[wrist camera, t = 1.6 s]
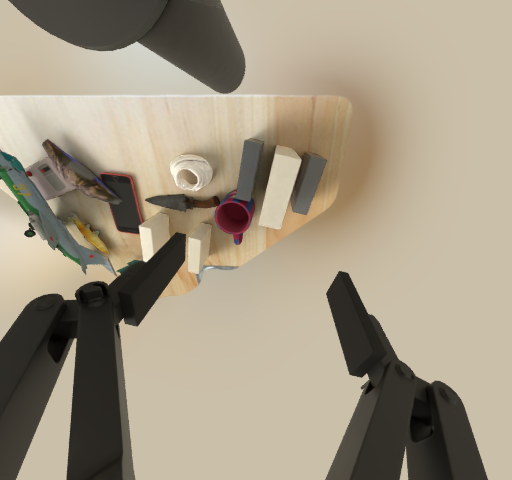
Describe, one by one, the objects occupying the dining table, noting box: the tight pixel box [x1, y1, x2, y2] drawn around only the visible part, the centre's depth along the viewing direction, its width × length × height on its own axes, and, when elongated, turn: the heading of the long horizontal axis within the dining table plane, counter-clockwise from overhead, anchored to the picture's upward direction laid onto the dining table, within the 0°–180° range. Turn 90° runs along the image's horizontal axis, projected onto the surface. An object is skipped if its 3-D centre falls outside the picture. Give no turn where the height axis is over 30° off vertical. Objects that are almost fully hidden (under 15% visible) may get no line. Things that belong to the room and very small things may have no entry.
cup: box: [215, 190, 255, 245], centre depth 38 cm, size 7×10×7 cm
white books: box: [139, 213, 212, 274], centre depth 42 cm, size 12×9×7 cm
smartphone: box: [100, 173, 143, 234], centre depth 42 cm, size 7×1×14 cm
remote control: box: [24, 157, 77, 200], centre depth 40 cm, size 7×16×3 cm, turn 109°
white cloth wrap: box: [170, 154, 213, 191], centre depth 36 cm, size 8×7×5 cm
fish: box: [67, 213, 110, 255], centre depth 47 cm, size 12×2×5 cm
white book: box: [259, 145, 302, 230], centre depth 29 cm, size 3×9×15 cm, turn 168°
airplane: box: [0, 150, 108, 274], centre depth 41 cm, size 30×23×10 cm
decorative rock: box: [42, 139, 122, 204], centre depth 39 cm, size 16×2×5 cm
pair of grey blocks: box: [236, 139, 327, 215], centre depth 33 cm, size 12×9×7 cm
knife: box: [145, 194, 220, 212], centre depth 40 cm, size 17×2×5 cm
